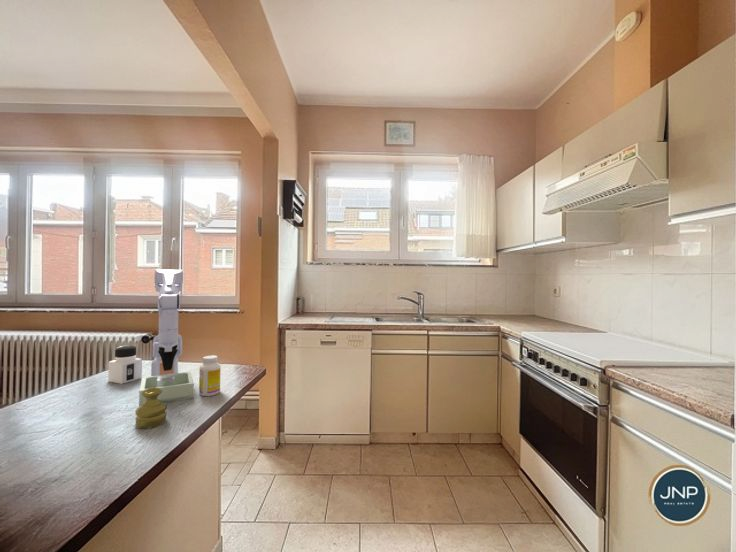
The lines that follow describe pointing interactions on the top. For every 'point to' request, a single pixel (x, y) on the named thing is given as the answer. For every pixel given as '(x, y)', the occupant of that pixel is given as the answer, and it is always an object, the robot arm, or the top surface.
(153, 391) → the brass calibration weight
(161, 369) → the terracotta box
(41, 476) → the top surface
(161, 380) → the steel block
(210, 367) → the supplement bottle
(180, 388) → the tote
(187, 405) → the top surface
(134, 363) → the container
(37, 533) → the top surface
